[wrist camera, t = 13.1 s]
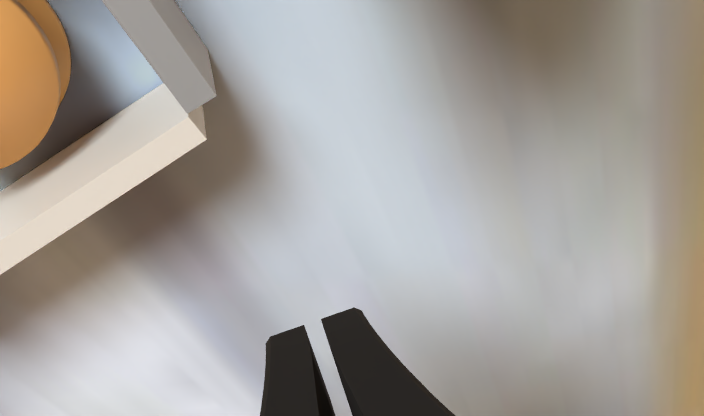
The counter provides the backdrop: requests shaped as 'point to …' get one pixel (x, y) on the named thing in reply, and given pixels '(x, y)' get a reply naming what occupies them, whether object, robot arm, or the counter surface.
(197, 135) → the cover
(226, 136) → the counter surface
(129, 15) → the open grey tray
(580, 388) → the counter surface
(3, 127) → the door knob
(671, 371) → the counter surface
